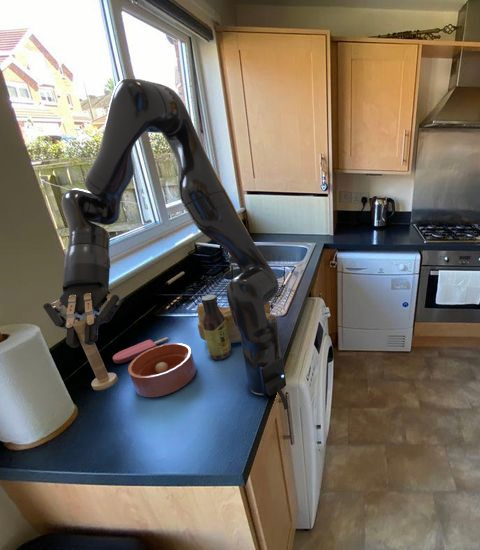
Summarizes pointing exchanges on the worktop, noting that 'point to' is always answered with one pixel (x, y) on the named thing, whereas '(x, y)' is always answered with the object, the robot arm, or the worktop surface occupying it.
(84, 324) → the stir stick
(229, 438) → the worktop surface
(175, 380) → the mixing bowl
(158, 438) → the worktop surface
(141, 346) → the popsicle
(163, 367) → the dough ball
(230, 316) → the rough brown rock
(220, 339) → the sauce bottle
